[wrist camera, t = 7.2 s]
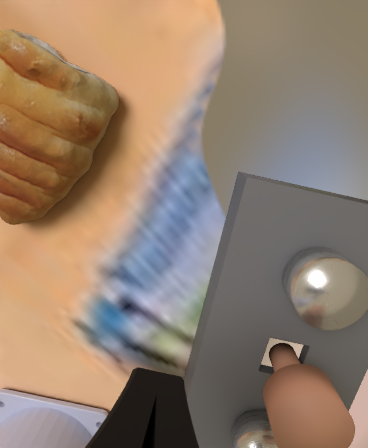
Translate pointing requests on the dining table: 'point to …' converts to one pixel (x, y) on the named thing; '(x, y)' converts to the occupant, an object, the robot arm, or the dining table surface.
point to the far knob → (252, 431)
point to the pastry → (45, 125)
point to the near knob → (325, 288)
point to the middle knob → (304, 405)
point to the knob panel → (270, 301)
